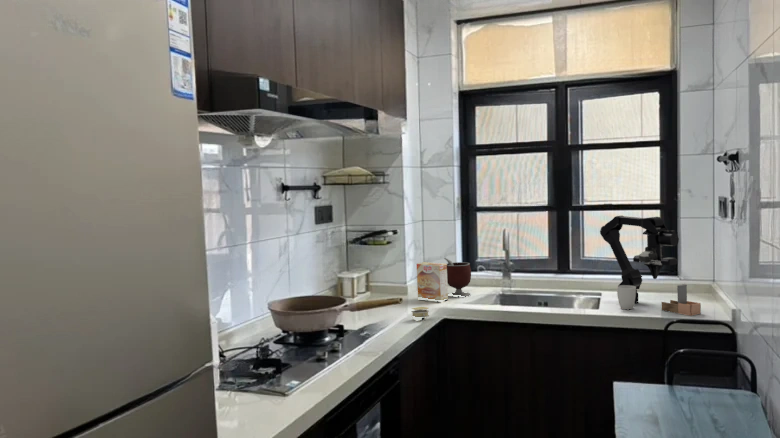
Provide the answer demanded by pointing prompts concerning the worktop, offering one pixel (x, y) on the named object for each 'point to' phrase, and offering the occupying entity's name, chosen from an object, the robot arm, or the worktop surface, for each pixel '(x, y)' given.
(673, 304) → the tray
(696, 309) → the cup
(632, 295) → the cup
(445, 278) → the coffeecake box
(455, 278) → the mate gourd
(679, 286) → the plunger
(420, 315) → the stacked layers on plate
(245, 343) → the worktop surface
